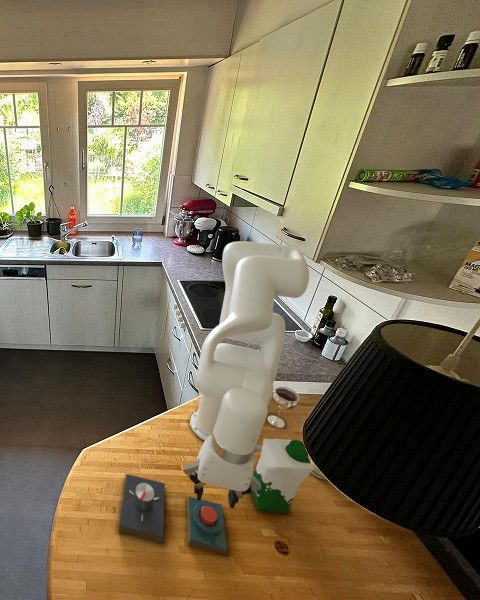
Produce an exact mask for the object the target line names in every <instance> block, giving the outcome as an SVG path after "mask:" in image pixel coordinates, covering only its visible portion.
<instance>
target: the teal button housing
mask: <svg viewBox="0 0 480 600" xmlns="http://www.w3.org/2000/svg"><path fill="white" fill-rule="evenodd" d="M186 504H187V505H186V506H187V507H186V508H187V512H186V513H187V539H188V540H187V543H188V545H190V546H194V547H198V548H201V549H205V550H208V551H212V552H215V553H219V554H222V555H227V551H228V543H227V534H226V528H225V527H226V525H225V519H224V510H223V504H221V503H217V502H213V501H210V500H209V501H208V500H205V499H201V500H200V501H199V500H197V497H192V496H188V497H187V500H186ZM204 506H210V507H212V508H213V509H214V510H215V511H216V513H217V520H216V523H215V524H214V525H213V526H208V525H206V524H204V523H203V522H202V520H201V518H200V512H201V509H202V507H204Z"/></svg>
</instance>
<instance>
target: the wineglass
mask: <svg viewBox="0 0 480 600" xmlns="http://www.w3.org/2000/svg"><path fill="white" fill-rule="evenodd" d="M272 401H273V403H274V404H275V405H276V406H277V407H278V409H279V410H278V412H277V415H267V421H268V423H269V424H270V425H271V426H273V427H275V428H284V427H285V425H286V423H285V421H284V420H283V419H282V418H281V417H280V416H281V413H282V411H283V410H284V411H285V410H286V411H289V410H293V409H295V408H296V407H297V406H298V403H299V401H300V395H299V394H298V393H297V392H296V391H295V390H293V389H292V388H290V387H286V386H276V388H275V389H274V391H273V394H272Z"/></svg>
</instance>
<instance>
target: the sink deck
mask: <svg viewBox="0 0 480 600" xmlns="http://www.w3.org/2000/svg"><path fill="white" fill-rule="evenodd" d="M141 483H146V484H149V485H150V486H151V487H152V488H153V490H154V499H153V505H152V508H151V510H149V511H148V512H142V511H140V510H138V509H137V507H136V506H135V503H134V500H135V492H136V487H137V486H138V485H139V484H141ZM165 486H166V483H165V482H162V481H157V480H153V479H148V478H145V477H140V476H136V475H132V474H128V473H126V474H125V482H124V490H123V495H122V496H123V497H122V504H121V510H120V517H119V524H118V532H119V533H120V534H121V533H122V534H125V535H129V536H132V537H136V538H139V539H143V540H147V541H151V542H154V543H158V544H162V543H163V540H164V523H165V521H164V520H165V488H166V487H165Z"/></svg>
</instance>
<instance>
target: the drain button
mask: <svg viewBox="0 0 480 600" xmlns="http://www.w3.org/2000/svg"><path fill="white" fill-rule="evenodd" d="M200 518H201V520H202V522H203V523H204V524H206V525H208V526H213V525H214V524H215V523H216V520H217V513H216V511H215V510H214V509H213V508H212V507H210V506H204V507H202V509H201V512H200Z"/></svg>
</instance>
